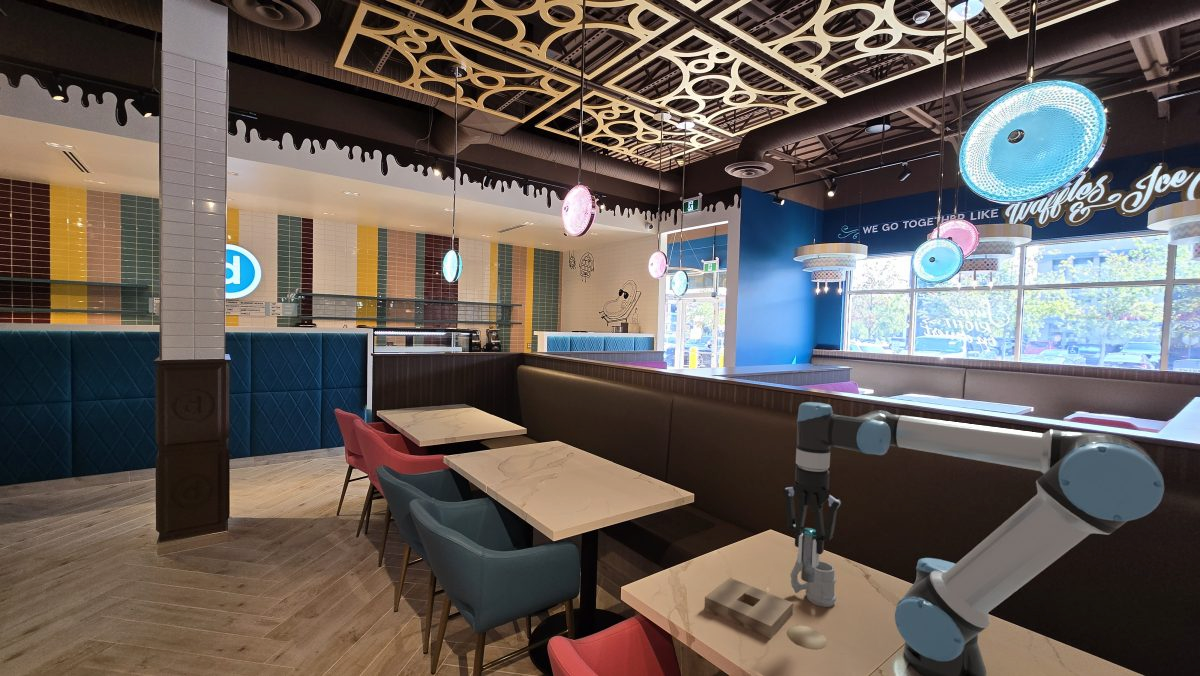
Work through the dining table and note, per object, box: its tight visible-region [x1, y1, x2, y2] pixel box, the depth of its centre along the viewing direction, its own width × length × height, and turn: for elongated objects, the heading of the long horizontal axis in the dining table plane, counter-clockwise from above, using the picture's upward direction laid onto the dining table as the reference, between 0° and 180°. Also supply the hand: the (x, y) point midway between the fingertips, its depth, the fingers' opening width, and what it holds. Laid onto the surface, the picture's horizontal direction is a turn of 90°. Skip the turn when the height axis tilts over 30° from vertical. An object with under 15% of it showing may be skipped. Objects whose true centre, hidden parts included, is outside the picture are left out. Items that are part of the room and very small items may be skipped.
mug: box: [789, 557, 837, 608], centre depth 136 cm, size 8×12×12 cm, turn 73°
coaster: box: [786, 625, 828, 650], centre depth 119 cm, size 9×9×1 cm
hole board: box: [704, 577, 794, 640], centre depth 129 cm, size 18×14×4 cm
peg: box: [800, 527, 816, 583], centre depth 118 cm, size 3×3×12 cm
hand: (808, 563), depth 118 cm, fingers closed on peg, 3 cm apart
